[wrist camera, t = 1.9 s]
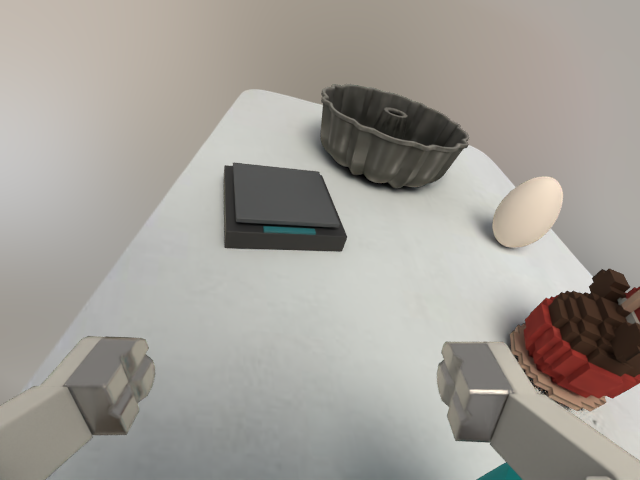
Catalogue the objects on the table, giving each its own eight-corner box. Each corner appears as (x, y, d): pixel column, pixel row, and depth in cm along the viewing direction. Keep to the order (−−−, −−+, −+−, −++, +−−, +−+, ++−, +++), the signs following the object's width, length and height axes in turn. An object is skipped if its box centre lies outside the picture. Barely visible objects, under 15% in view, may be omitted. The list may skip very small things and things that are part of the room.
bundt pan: (324, 119, 75) (336, 72, 69) (438, 157, 74) (460, 112, 68) (291, 170, 54) (304, 108, 48) (448, 222, 54) (482, 167, 48)
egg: (483, 249, 50) (532, 181, 43) (477, 222, 56) (520, 159, 49) (531, 266, 50) (590, 200, 43) (520, 237, 56) (570, 176, 48)
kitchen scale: (224, 248, 38) (226, 223, 35) (223, 180, 48) (225, 157, 45) (341, 251, 42) (350, 229, 40) (318, 188, 52) (323, 168, 50)
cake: (504, 312, 41) (624, 185, 29) (584, 348, 39) (741, 229, 28) (510, 389, 32) (678, 253, 21) (610, 438, 31) (848, 320, 20)
